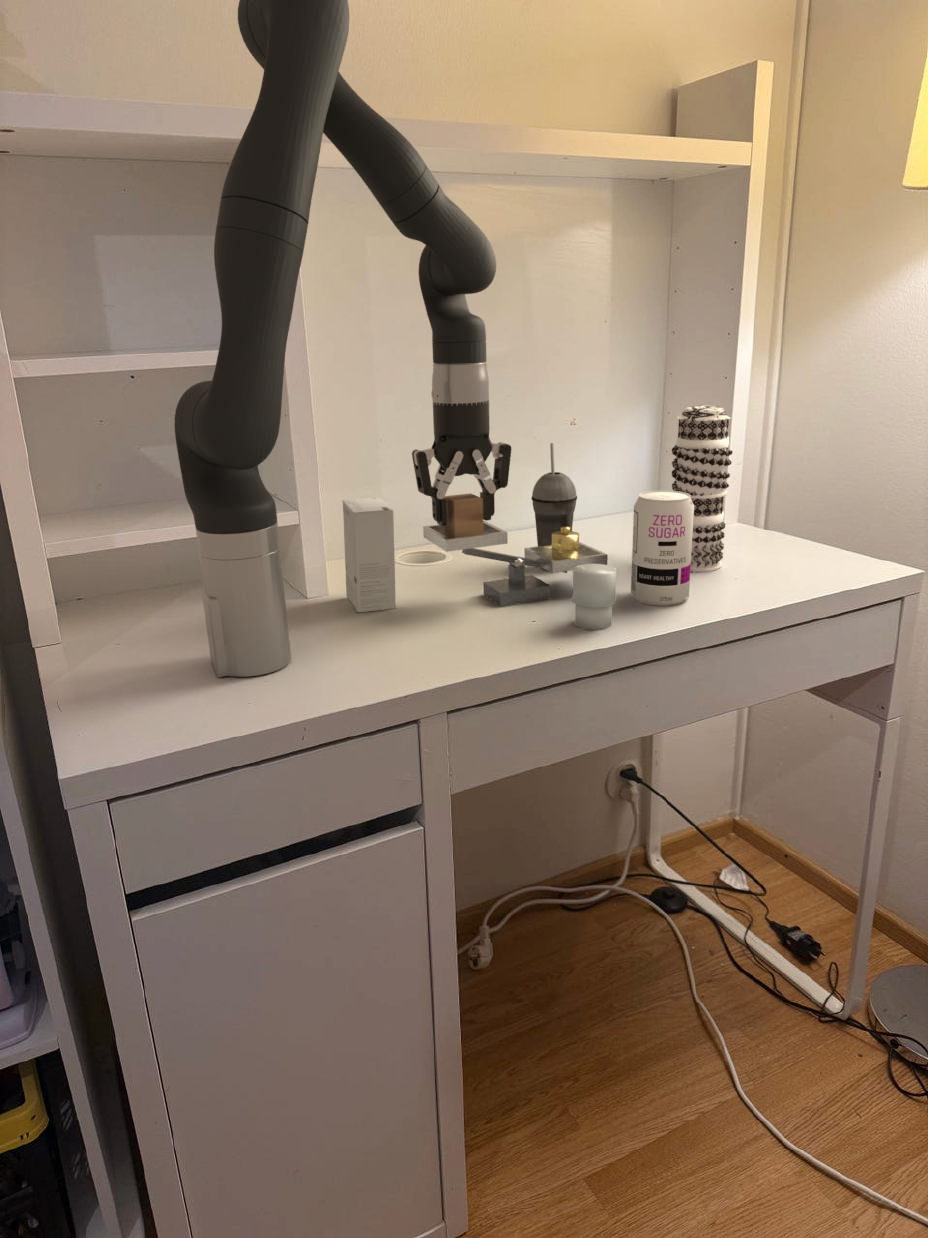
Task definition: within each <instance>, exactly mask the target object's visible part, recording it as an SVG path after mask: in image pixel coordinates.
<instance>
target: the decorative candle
mask: <svg viewBox="0 0 928 1238" xmlns="http://www.w3.org/2000/svg"><path fill="white" fill-rule="evenodd" d="M676 418H677V419H678V425H677V426H678V428H677V429H678V430H677V431H678V432H677V436H676V443H675V445H674V447H672V448H671V454H672V455H673V456H675V457H674V459H673V460H672V461H671V465H672V468H673V469H672V471H671V477H672V478H674V479H675V480H674V481H673V483H671V489H672V491H679V492H684V493H688V494H689V495H690V498H691V500H692V502H693V504H694V518H693V534H692V551H691V568H690V573H691V572H692V573H694V572H695V573H705V572H714V571H717V570H720V569H721V568H722V567H723V563H722V561H721V560H723V559H724V552H723V550H724V548H725V544H724V542H723V541H722V539H724V538H725V532H724V531H722V530H724V529H725V528H726V523H725V522H724V516H725V515H724V513H725V511H724V498H725V497H726V496H728V490H727V489H728V488H729V487H730V484H729V483H728V482H726V480H727V479H729V478H730V476H731V473H729V472H727V471H726V469H725V468H728V467H729V466H730V465H732V461H731V460H730V458H728V457H730V456H731V455H733V452H734V451H733V450H732V449H730V448H729V445H730V444H729V443H730V437H729V425H730V424H729V423H730V419H731V418H732V416H731V415H730V416H729V415H728V413H727V411H726V410H725V408H724V407H722V406H720V405H693V406H687V407H686V408H685V409H684V410H683V412H682V413H681V415H677V416H676Z"/></svg>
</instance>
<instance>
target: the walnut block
mask: <svg viewBox="0 0 928 1238" xmlns="http://www.w3.org/2000/svg"><path fill="white" fill-rule="evenodd" d="M444 498H445V499H446V511H447V525H444V535H445V536H447V537H449V538H457V537H465V536H473V535H481V534H483V521H484V520H483V498H480V496H477V495H475V494H474V493H470V492H469V493H461V494H451V495H445V497H444Z"/></svg>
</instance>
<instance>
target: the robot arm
mask: <svg viewBox="0 0 928 1238" xmlns="http://www.w3.org/2000/svg"><path fill="white" fill-rule="evenodd" d="M237 22H238V23H237V24H238V28H239V32H240V35H241V38H242V41H243V43H244V44H245V47H246V48H247V50H248V52H249V53H250V54H251V56H252V57H253V58H254V60H255V62H257V63H258V65H259V66H260V67H261V68H262V69H263V75H262V81H261V84H260V85H261V86H260V90H259V94H258V98H257V101H256V103H255V107H254V110H253V112H252V114H251V116H250V119H249V122H248V124H247V126H246V128H245V130H244V132H243V135H242V136H241V139H240V141H239V143H238V145H237V147H236V150H235V153H234V154H233V156H232V157H233V158H232V160H231V163H230V166H229V167H228V171H227V174H226V177H225V179H224V184H223V187H222V191H221V196H220V202H219V209H218V215H217V222H216V227H215V235H214V241H213V242H214V243H213V244H214V246H213V258H214V259H213V260H214V261H213V262H214V270H215V279H216V284H217V291H218V297H219V304H220V312H221V313H220V315H221V332H220V333H221V334H220V340H219V348H218V352H217V356H216V357H217V358H216V363H215V369H214V372H213V376H212V380H205V381H200V382H198V383H194V384H193V385H192V386H190V387H189V388H187V390H186V391H185V392H184V393H183V394H182V395H181V397H180V398H179V400H178V402H177V405H176V407H175V408H176V409H175V414H174V437H175V443H176V451H177V456H178V462H179V468H180V475H181V480H182V485H183V490H184V491H183V492H184V495H185V498H186V501H187V503H188V506H189V507H190V510H191V513H192V515H193V520H194V527H195V534H196V542H197V549H198V557H199V566H200V573H201V579H202V587H201V595H202V602H203V611H204V617H205V625H206V626H205V627H206V632H207V633H206V634H207V639H208V640H207V641H208V648H209V656H210V661H211V665H212V667H213V670H214V672H215V675H216V676H217V678H222V677H243V678H244V677H255V676H256V677H257V676H261V675H263V676H264V675H266V674H270V673H273V672H276V671H279V670H281V669H282V668H284V667H286V666H287V665H288V664H289V663H291V659H292V656H291V655H292V654H291V641H290V635H289V624H288V615H287V614H288V613H287V605H286V603H287V602H286V595H285V585H284V584H285V583H284V575H283V574H284V573H283V563H282V557H281V556H282V555H281V545H280V536H279V525H278V513H277V507H276V503H275V502H276V501H275V499H274V498H273V496H272V494H271V493H270V492H269V491H268V489H267V488H266V486H265V484H264V482H263V481H262V478H261V474H260V470H259V466H260V464H262V463H263V462H265V460H266V459H267V458H268V457H269V456H270V455H271V453H272V451H273V450H274V448H275V445H276V443H277V440H278V437H279V432H280V426H281V418H282V416H281V415H282V405H283V404H282V403H283V387H284V373H285V362H286V352H287V351H286V349H287V342H288V338H289V337H288V336H289V331H290V327H291V326H290V325H291V321H292V317H293V315H292V314H293V310H294V305H295V304H294V303H295V297H296V293H297V286H298V279H299V274H300V269H301V266H302V259H303V256H304V250H305V245H306V239H307V233H308V229H309V220H310V212H311V206H312V200H313V199H312V198H313V192H314V186H315V183H316V181H315V180H316V178H317V172H318V167H319V166H318V164H319V161H320V160H319V159H320V154H321V147H322V139H323V134H324V135H325V137H327V139H328V140H329V141H330V142H331V143H332V144H333V146H334V147H335V148H336V149H337V150H338V152H340V154H341V155H342V156H343V157H344V158H345V160H346V161H347V162H348V164H350V166H351V167H352V168H353V170H354V171H355V172H356V173H357V174H358V176H359V177H360V179H361V180H362V181H363V182H364V184H365V186H367V188H368V190H369V191H370V193H371V194H372V195H373V197H374V198H375V200H376V202H378V204H379V206H380V207H381V208H382V210H383V211H384V213H385V215H387V217H388V218H389V219H390V221H391V222H392V223H393V225H394V227H396V229H397V230H398V231H399V233H401V235H403V236H404V237H406V238H407V239H410V240H413V241H417V242H420V243H422V244H424V245H425V246H424V247H423V249H422V251H421V253H420V257H419V263H418V279H419V280H418V281H419V282H418V283H419V286H420V287H419V288H420V291H421V296H422V300H423V302H424V304H423V305H424V307H425V311H426V316H427V318H428V321H429V324H430V329H431V332H432V333H431V334H432V336H431V338H432V339H431V340H432V341H431V342H432V343H431V344H432V345H431V346H432V363H433V364H432V367H433V368H432V376H431V379H432V380H431V388H432V389H431V398H432V416H433V417H432V419H433V421H432V422H433V435H434V438H433V439H434V441H433V444H432V446H431V447H430V448H426V449H422V450H420V449H414V450H412V452H411V457H412V464H413V469H414V474H415V481H416V486H417V491H418V493H421V494H423V495H425V496H427V497H431V508H432V509H431V510H432V518H433V520H434V521H435V522H436V523H437V524H436V525H441V526H444V525H447V511H446V499H445V498H444V497H445V496H446V494H447V492H448V490H449V488H450V485H451V484H452V483H453V480H454V479H455V477H461V476H463V475H471V476H472V475H473V477H474V478H475V479H476V480H477V482H478V484H479V487H480V488H481V492H479V497H480V498H483V521H485V522H487V521H491V520H492V517H493V516H494V515H495V505H496V504H495V494H496V491H498V490H500V489H505V488H507V487H508V484H509V474H510V468H511V467H510V464H511V457H512V446H511V445H510V444H509V443H505V442H497V443H493V442H492V441H491V439H490V430H491V429H490V384H489V383H490V382H489V374H488V366H487V333H486V325H485V322H484V320H483V319H482V318H481V317H480V316H478V315H477V314H476V315H475V314H473V313H472V312H470V309H469V306H468V303H467V298H466V295H470V294H471V295H472V294H477V293H481V292H483V291H485V290H487V288H489V286H490V285H491V284H492V283H493V281H494V279H495V276H496V272H497V260H496V259H497V258H496V254H495V251H494V248H493V246H492V244H491V242H490V240H489V239H488V237H487V235H486V234H485V233H484V232H483V230H482V229H481V228H480V227H479V226H478V225H477V224H476V223H475V222H474V221H473V219H471V217H469V216H468V215H467V214H466V213H465V212H464V211H463V209H462V208H461V207H459V206H458V205H457V204H456V203H455V202H453V201H452V199H450V198H449V197H448V196H447V195H446V194H445V192H444V191H443V189H442V187H441V185H440V184H439V182H438V181H437V179H436V178H435V176H434V174H433V173H432V171H431V170H430V169H429V167H428V166H427V164H426V162H425V160H424V159H423V158H422V156H421V155H420V154H419V152H418V150H416V149H417V148H415V147H414V146H413V145H412V143H411V142H410V141H409V140H408V138H406V136H404V135H403V134H402V133H401V132H400V131H399V130H398V129H397V128H395V126H393V124H391V123H390V122H389V121H387V119H385V118H384V117H382V116H381V115H380V114H379V113H378V112H377V111H376V110H374V108H372V107H371V106H370V105H369V104H367V102H366V101H364V99H362V97H361V96H360V95H358V93H357V92H356V91H355V90H354V89H353V88H352V86H351V85H349V83H348V81H346V79H345V78H344V77H343V75H342V74H341V73H340V71H339V70H340V67H341V63H342V60H343V56H344V52H345V51H346V50H345V49H346V46H347V42H348V36H349V30H350V8H349V1H348V0H239V1H238V5H237ZM491 453H492V457H493V459H494V467H493V476H492V474H491V472H490V470H489V468H488V467H487V466H488V465H487V464H486V461H487V460H488V458H489V456H490V455H491ZM433 457H434V458H435V460H436V461H437V463H438V464H439V465H438V468H437V470H436V473H435V475H434V480H433V484H432V481H431V475H430V469H429V466H431V464H432V458H433Z"/></svg>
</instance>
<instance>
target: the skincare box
mask: <svg viewBox="0 0 928 1238" xmlns="http://www.w3.org/2000/svg"><path fill="white" fill-rule="evenodd" d="M342 514H343V515H342V516H343V540H344V543H343V544H344V563H345V586H346V587H345V589H346V593H345V594H346V598H347V599H348V600H349V601H350V602H351V603H352V605H353V607H354V609H355V610H356V612H357V613H368V612H375V611H376V612H377V611H385V610H392V609H393V610H394V609H396V608H397V607H396V606H397V604H396V569H395V568H396V565H395V564H396V563H395V560H396V559H395V525H394V523H395V522H394V520H395V518H394V510H393V509H392V508H391V507H390V506H389V504H388V502H386V501H383V500H382V499H381V498H380V497H369V498H367V497H366V498H351V499H349V498H348V499H343V500H342Z"/></svg>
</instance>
